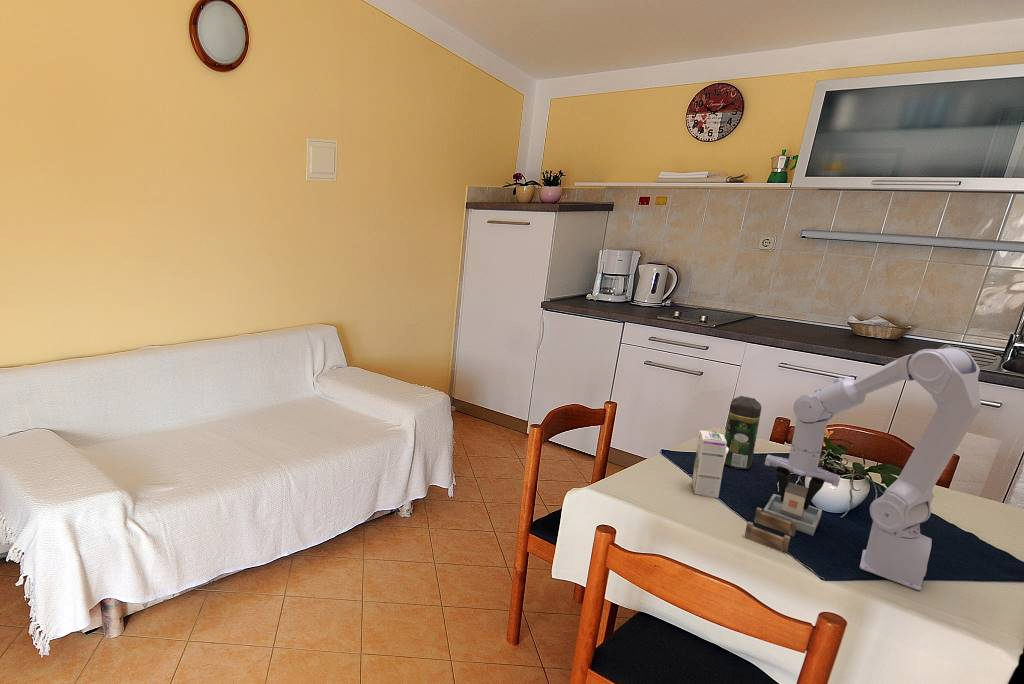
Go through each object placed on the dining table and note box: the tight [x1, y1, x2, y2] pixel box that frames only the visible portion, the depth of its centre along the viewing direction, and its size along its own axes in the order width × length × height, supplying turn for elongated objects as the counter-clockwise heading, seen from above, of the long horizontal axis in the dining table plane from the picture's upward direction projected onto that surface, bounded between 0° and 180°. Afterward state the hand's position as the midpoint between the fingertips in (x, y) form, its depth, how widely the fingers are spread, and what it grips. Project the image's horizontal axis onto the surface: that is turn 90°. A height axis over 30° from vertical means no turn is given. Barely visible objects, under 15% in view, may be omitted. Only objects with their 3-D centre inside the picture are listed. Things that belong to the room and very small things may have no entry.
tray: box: [762, 493, 823, 537], centre depth 119 cm, size 10×10×2 cm
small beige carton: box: [781, 481, 808, 520], centre depth 118 cm, size 4×4×6 cm
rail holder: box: [743, 506, 798, 554], centre depth 111 cm, size 8×9×3 cm
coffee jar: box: [724, 395, 762, 470], centre depth 145 cm, size 10×8×19 cm
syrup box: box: [691, 430, 727, 499], centre depth 128 cm, size 6×6×14 cm
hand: (794, 504), depth 119 cm, fingers closed on small beige carton, 4 cm apart
